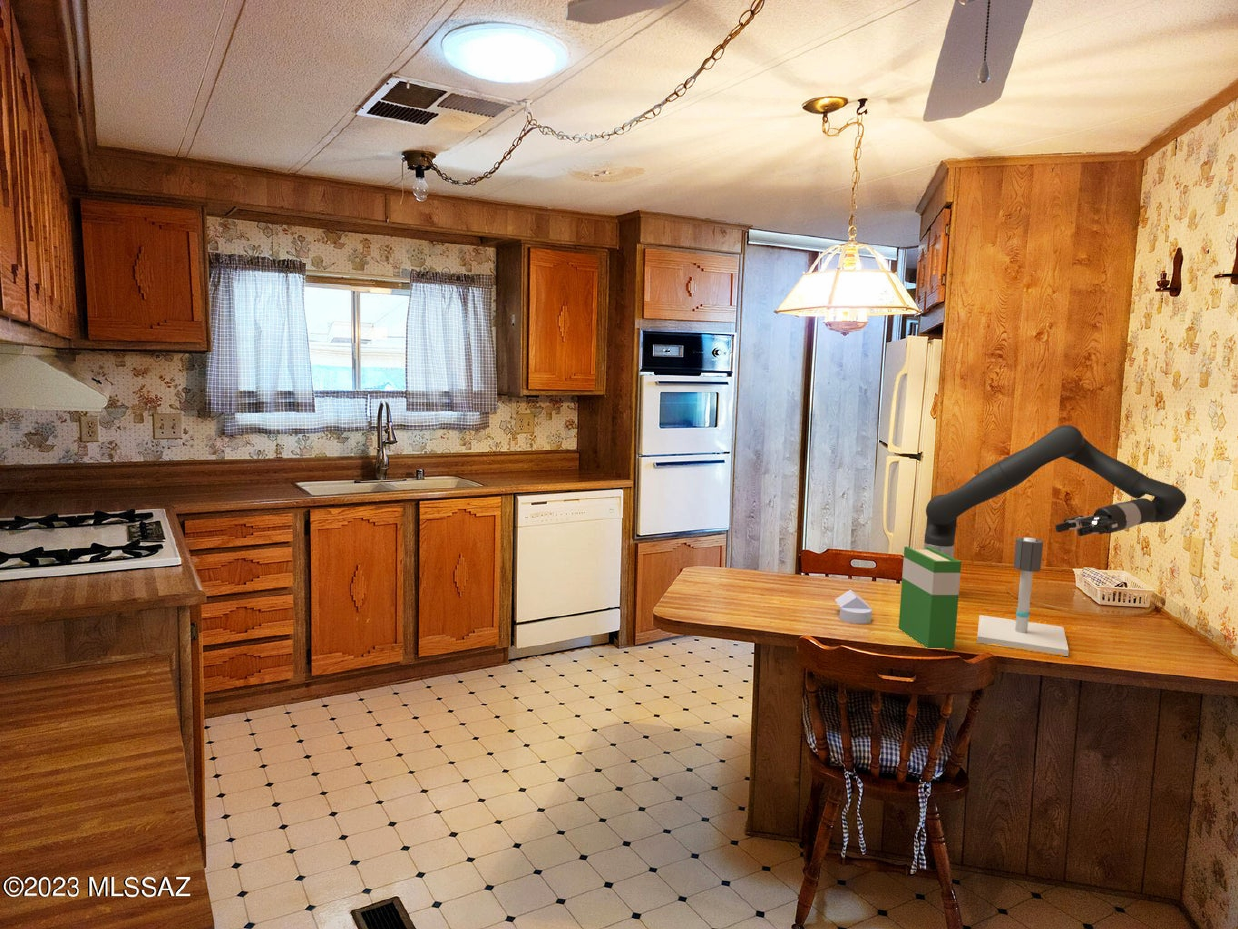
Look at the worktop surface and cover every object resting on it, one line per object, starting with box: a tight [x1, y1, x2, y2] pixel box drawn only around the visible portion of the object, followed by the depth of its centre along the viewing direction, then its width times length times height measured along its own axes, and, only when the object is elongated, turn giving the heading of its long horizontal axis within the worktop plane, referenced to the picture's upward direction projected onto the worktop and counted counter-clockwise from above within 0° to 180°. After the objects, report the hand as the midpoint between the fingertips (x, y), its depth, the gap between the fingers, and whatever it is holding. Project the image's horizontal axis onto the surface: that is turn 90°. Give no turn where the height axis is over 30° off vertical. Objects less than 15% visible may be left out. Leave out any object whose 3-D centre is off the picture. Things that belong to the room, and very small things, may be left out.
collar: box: [1013, 537, 1044, 573], centre depth 226 cm, size 7×7×8 cm
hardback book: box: [898, 546, 962, 650], centre depth 224 cm, size 18×7×24 cm, turn 6°
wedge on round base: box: [834, 589, 872, 625], centre depth 243 cm, size 9×7×13 cm
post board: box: [976, 537, 1069, 657], centre depth 227 cm, size 22×22×28 cm
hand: (1067, 530), depth 228 cm, fingers open, 8 cm apart
